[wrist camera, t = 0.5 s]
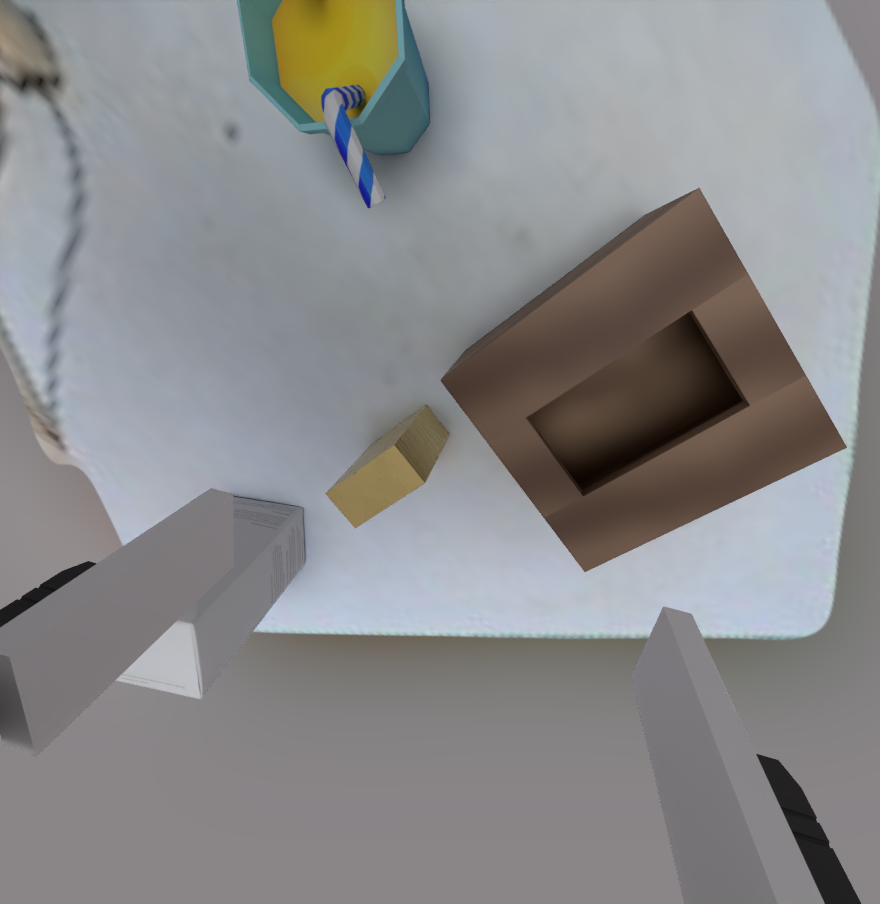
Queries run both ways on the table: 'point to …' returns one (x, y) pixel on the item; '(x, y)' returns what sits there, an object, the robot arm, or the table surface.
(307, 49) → the cup
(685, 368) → the coin box
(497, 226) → the table surface
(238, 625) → the skincare box
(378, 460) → the block
